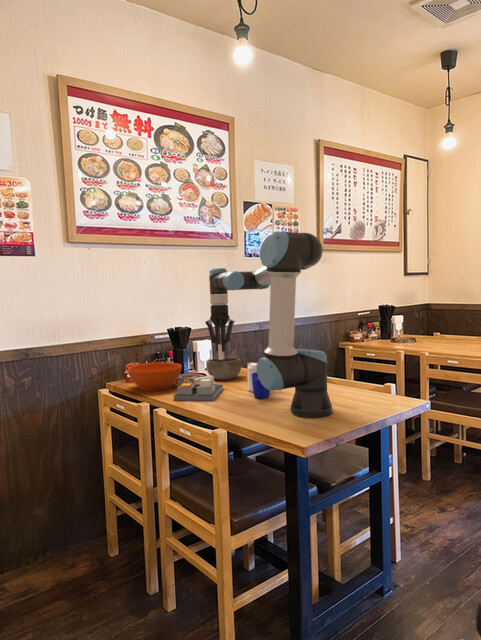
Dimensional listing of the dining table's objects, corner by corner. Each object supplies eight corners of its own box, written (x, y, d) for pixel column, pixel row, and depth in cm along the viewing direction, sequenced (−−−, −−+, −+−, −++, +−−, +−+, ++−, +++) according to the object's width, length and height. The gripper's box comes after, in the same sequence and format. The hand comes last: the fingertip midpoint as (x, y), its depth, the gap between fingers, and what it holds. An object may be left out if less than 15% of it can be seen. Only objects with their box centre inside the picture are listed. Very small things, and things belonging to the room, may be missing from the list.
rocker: (211, 378, 207) (210, 376, 207) (194, 382, 208) (194, 379, 208) (212, 377, 210) (212, 375, 210) (196, 380, 211) (195, 378, 211)
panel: (213, 400, 189) (213, 388, 189) (173, 400, 192) (173, 388, 192) (223, 388, 211) (223, 378, 211) (187, 388, 214) (187, 378, 213)
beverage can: (244, 391, 206) (243, 364, 205) (256, 387, 211) (255, 362, 211) (258, 393, 200) (257, 366, 199) (269, 390, 206) (269, 363, 205)
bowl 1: (150, 380, 235) (149, 361, 234) (192, 384, 224) (191, 363, 223) (117, 391, 212) (116, 370, 212) (162, 395, 201) (161, 373, 201)
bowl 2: (210, 375, 245) (210, 356, 244) (243, 375, 243) (243, 356, 242) (203, 382, 228) (203, 362, 227) (239, 382, 226) (238, 361, 225)
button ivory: (209, 389, 192) (209, 380, 192) (200, 389, 193) (200, 380, 192) (211, 387, 196) (211, 379, 196) (202, 387, 196) (202, 379, 196)
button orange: (189, 393, 193) (189, 385, 193) (181, 393, 194) (180, 385, 194) (192, 391, 197) (191, 383, 197) (183, 391, 198) (183, 383, 198)
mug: (246, 401, 187) (245, 377, 187) (255, 394, 199) (255, 371, 198) (265, 402, 184) (265, 378, 184) (273, 395, 196) (273, 372, 195)
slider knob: (212, 389, 200) (212, 378, 200) (206, 389, 201) (205, 378, 200) (214, 387, 204) (214, 376, 203) (207, 387, 204) (207, 376, 204)
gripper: (236, 303, 198) (238, 358, 199) (208, 304, 202) (210, 357, 203) (230, 304, 191) (232, 360, 192) (201, 305, 195) (204, 360, 196)
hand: (221, 359), depth 198 cm, fingers closed
